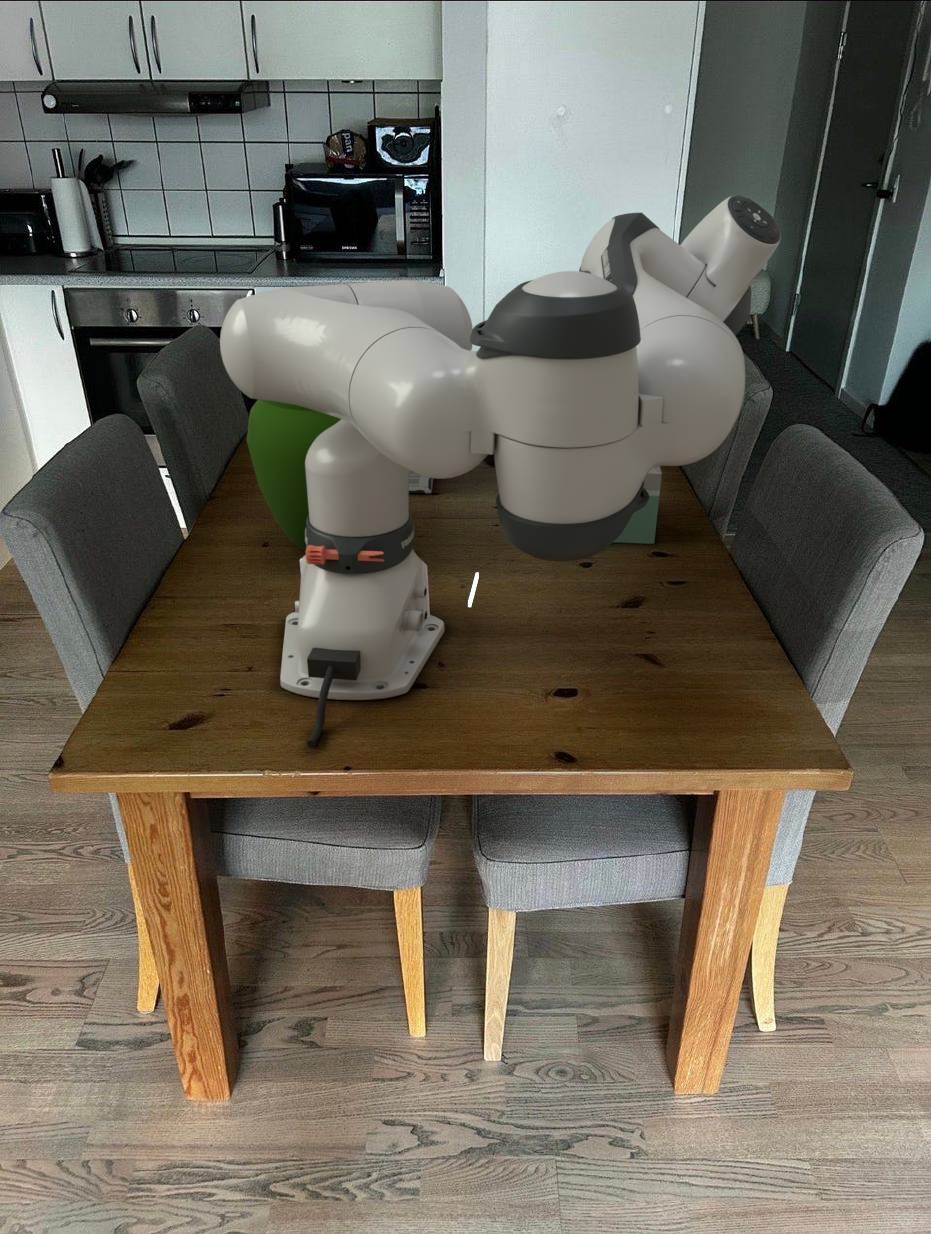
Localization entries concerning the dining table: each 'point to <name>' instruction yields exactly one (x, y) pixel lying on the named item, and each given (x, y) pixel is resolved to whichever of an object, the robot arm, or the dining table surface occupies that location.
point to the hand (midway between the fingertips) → (621, 369)
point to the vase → (284, 459)
